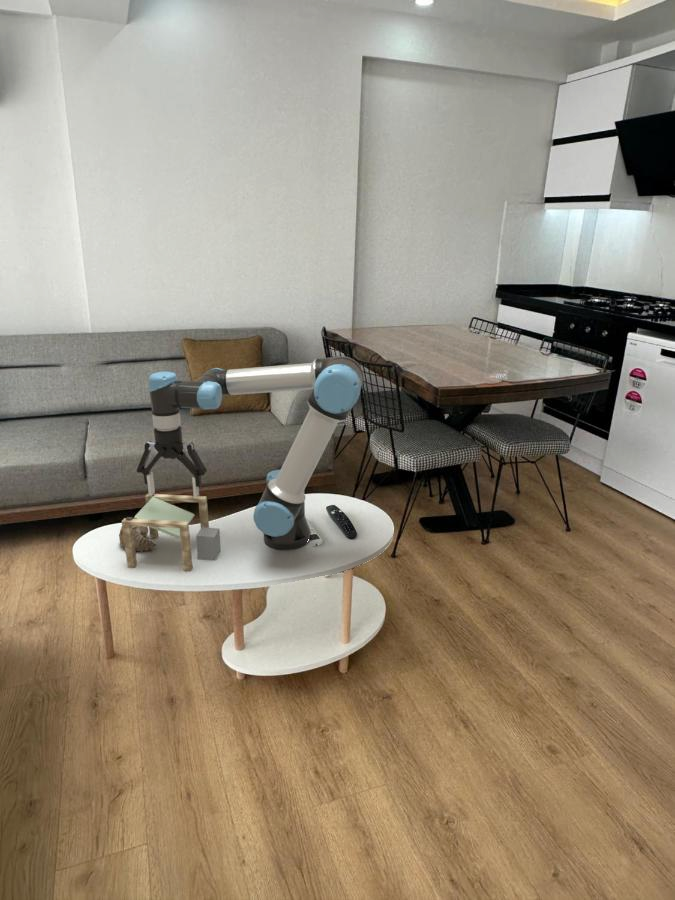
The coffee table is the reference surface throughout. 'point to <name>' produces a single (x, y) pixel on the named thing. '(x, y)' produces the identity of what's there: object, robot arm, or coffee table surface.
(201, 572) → the coffee table surface
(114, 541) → the coffee table surface
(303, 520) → the robot arm
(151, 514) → the trapdoor
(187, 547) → the frame
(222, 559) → the coffee table surface
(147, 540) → the seashell
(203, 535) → the grey rectangular block
